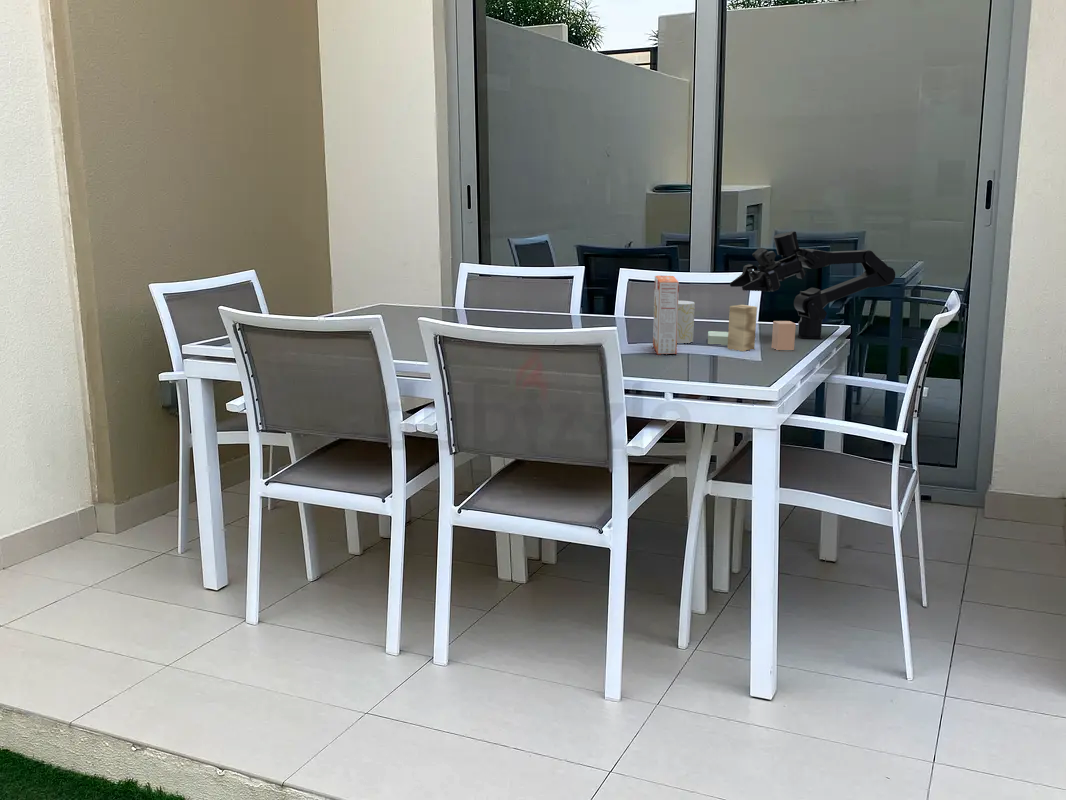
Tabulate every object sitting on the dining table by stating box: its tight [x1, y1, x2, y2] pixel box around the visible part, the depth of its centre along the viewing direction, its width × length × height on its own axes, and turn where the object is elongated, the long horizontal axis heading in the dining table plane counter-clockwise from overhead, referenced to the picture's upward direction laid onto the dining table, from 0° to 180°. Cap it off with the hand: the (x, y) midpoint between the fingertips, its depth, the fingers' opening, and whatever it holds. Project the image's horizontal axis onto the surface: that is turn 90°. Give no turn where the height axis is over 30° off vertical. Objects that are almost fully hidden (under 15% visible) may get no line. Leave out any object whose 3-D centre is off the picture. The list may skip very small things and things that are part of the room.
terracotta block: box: [771, 320, 797, 351], centre depth 300 cm, size 5×5×8 cm
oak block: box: [726, 304, 758, 352], centre depth 299 cm, size 6×6×12 cm
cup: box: [677, 300, 696, 343], centre depth 310 cm, size 8×8×12 cm
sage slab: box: [707, 330, 728, 346], centre depth 311 cm, size 9×9×3 cm
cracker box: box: [652, 275, 680, 356], centre depth 294 cm, size 14×6×21 cm, turn 178°
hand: (736, 286), depth 313 cm, fingers open, 9 cm apart
